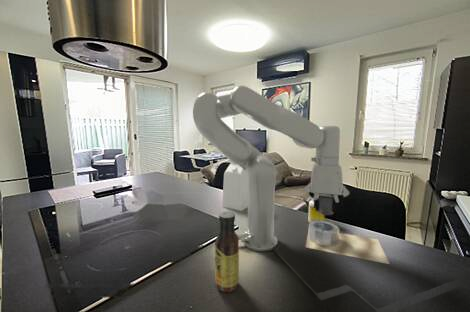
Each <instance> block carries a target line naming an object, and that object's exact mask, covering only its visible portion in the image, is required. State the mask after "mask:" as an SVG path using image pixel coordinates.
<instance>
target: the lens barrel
mask: <svg viewBox="0 0 470 312" xmlns="http://www.w3.org/2000/svg"><path fill="white" fill-rule="evenodd" d="M308 230H309V232H307V236H308V237H309V240H310V241H311V242H313V243H314V244H317V245H320V246H324V247H333V246H337V244H338V243H339V233H340V227H338V225H336V224H334V223H332V222H329V221H326V220H324V221H312V222H309V223H308Z"/></svg>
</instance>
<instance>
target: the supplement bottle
mask: <svg viewBox="0 0 470 312" xmlns="http://www.w3.org/2000/svg"><path fill="white" fill-rule="evenodd" d="M310 197H311V196H310ZM307 216H308V218H307V219H308V220H307V222H309V223H310V222H312V221H325V217H326V215H322V214H320V213H318V211H316V208H314V200H313V198H312V197H311V199H310V201H309V202H308V215H307Z"/></svg>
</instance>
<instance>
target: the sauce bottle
mask: <svg viewBox="0 0 470 312" xmlns="http://www.w3.org/2000/svg"><path fill="white" fill-rule="evenodd" d="M218 220H219V231H218V233H217V236H216V238H215V242H214V274H215V275H214V278H215V279H214V281H215V285H216V287H217V289H218V290H219V291H220V292H225V293H227V292H232V291H234V290H236V289H237V287H238V284H239V279H240V278H239V277H240V275H239V273H240V271H239V270H240V263H239V261H240V259H239V257H240V248H239V240H238V236H237V234H238V233H236V231H235V220H236V215H235V213H234V212H232V211H222V212H221V213H219V215H218Z"/></svg>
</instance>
